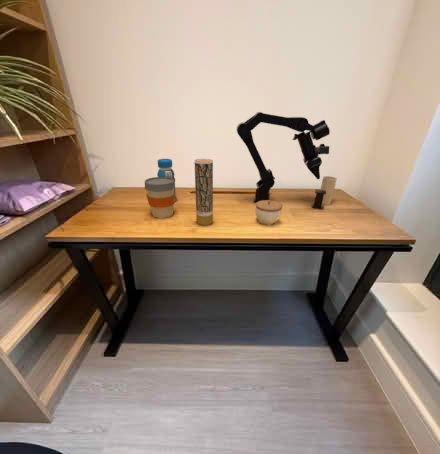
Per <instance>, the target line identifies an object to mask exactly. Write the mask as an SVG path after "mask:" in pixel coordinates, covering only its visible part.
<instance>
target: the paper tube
mask: <svg viewBox="0 0 440 454" xmlns="http://www.w3.org/2000/svg"><path fill="white" fill-rule="evenodd" d="M194 186H195V187H194V190H195V214H196V215H195V217H196V219H195V220H196V223H197V224H198V225H200V226H208V225H211V224H213V221H214V160H213V159H210V158H197V159H194Z"/></svg>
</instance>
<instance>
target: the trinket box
mask: <svg viewBox="0 0 440 454" xmlns="http://www.w3.org/2000/svg"><path fill="white" fill-rule="evenodd" d="M282 210H283V204H282V203H280V202H278V201H275V200H270V199H269V200H262V201H258V202H257V203H255V216H256V219H257V220H258V221H259V223H261V224H262V225H266V226H271V225H274V224H275V223H276V222H277V221H278V220H279V218H280V217H281V214H282Z"/></svg>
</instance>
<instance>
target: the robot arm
mask: <svg viewBox="0 0 440 454" xmlns="http://www.w3.org/2000/svg"><path fill="white" fill-rule="evenodd" d="M261 123H263V124H268V125H273V126H280V127H285V128H289V129H290V130H294V131H296V132H299V133H294V135H293V137H292V141H296V140H297V142H298V145H299V148H300V151H301V155H302V157H303V159H302V161H303V164H304V165H305V166H306V168H307V169H308V171H309V172H310V173H311V174H312V175H313V177H315V178H316V179H317V180H320V179H321V173H320V167H321V165H322V163H323V161H322V157H320V156H319V155H329V154H330V146H329V145H325V143H320V144H319V146H316V145H315V144H314V141H313V140H315V141H316V142H317V141H319V140H322V139H323V138H326V137H327V136H329V135H330V133H331V132H330V130H331V129H330V127H329V125H328V124H327V122H326V120H325V119H322V120H320V121H319V122H317V123H315V124H311V123H310V122H309V120H308V118H306V117H303V116H302V117H301V116H288V117H287V116H281V115H275V114H270V113H264V112H261V111H257V112H256V113H254V115H252V116H251V117H249V118H248V119H247V120H246V121H244V122H239V123H238V124H237V126H236V129H235V130H236V133H237V135H238V136H239V138H240V139H241V141H242V142H243V143H244V145H245V146H246V148H247V150H248V152H249V154H250V157H251V159H252V161H253V162H254V165H255V167H256V169H257V172H258V176H259V180H258V181H257V182H256V183H255V185H256V189H255V194H254V195H255V196H254V201H253V203H255V204H256V203H257V202H258V201H262V200H270V199H271V198H270V197H271V192H270V191H271V189H272V188H273V187H274V186H275V184H276V181H275V179H276V178H275V176H274V174H273V171H272V169H271V168H268V169H267V168H266V165H265V163H264V161H263V158H262V156H261V155H260V153H259V150H258V148H257V146H256V144H255V142H254V137H253V133H252V131H253V130H254V129H255V128H256V127H258V125H260V124H261ZM305 131H307V132H305Z"/></svg>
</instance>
